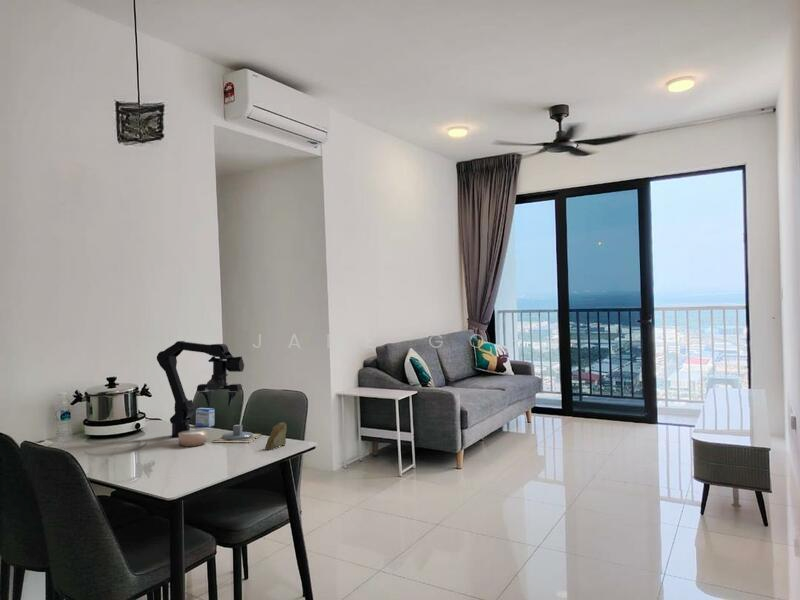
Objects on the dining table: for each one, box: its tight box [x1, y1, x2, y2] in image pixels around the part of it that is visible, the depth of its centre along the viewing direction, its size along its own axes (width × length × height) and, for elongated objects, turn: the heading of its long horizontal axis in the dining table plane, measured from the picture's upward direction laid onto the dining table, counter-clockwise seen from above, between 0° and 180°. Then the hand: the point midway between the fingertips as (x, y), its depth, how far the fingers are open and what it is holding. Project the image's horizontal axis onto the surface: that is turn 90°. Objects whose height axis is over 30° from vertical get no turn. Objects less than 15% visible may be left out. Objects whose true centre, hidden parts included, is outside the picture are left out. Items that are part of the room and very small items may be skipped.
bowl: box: [177, 429, 208, 447], centre depth 223 cm, size 11×11×5 cm
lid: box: [221, 424, 254, 440], centre depth 232 cm, size 13×13×5 cm
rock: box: [264, 421, 287, 451], centre depth 217 cm, size 11×9×10 cm
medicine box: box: [195, 407, 216, 428], centre depth 266 cm, size 8×4×9 cm, turn 73°
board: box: [212, 433, 262, 442], centre depth 232 cm, size 16×14×1 cm
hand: (219, 406), depth 240 cm, fingers open, 9 cm apart
